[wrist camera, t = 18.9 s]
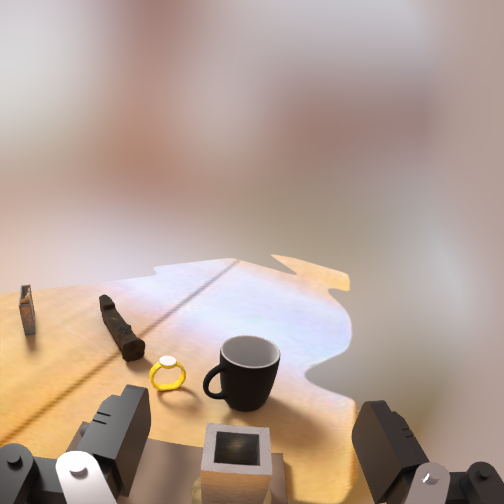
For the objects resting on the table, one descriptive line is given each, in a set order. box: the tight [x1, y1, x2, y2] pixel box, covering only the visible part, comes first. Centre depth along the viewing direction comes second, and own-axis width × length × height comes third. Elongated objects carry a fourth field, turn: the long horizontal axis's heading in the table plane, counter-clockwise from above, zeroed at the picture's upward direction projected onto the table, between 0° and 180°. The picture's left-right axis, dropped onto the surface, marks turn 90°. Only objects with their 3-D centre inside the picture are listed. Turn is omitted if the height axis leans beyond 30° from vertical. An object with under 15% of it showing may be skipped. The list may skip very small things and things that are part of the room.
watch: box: [149, 356, 186, 391], centre depth 46 cm, size 6×3×6 cm, turn 120°
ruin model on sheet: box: [19, 285, 35, 335], centre depth 55 cm, size 11×3×10 cm, turn 38°
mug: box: [203, 335, 280, 411], centre depth 45 cm, size 12×9×10 cm
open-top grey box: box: [201, 423, 273, 504], centre depth 25 cm, size 6×6×10 cm
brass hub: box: [191, 476, 271, 504], centre depth 25 cm, size 9×9×7 cm
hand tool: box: [99, 295, 145, 362], centre depth 60 cm, size 23×5×6 cm, turn 39°
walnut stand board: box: [65, 421, 287, 504], centre depth 25 cm, size 28×16×10 cm, turn 90°
